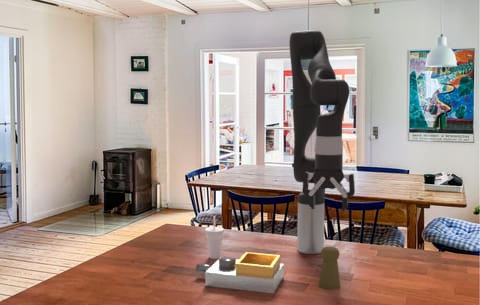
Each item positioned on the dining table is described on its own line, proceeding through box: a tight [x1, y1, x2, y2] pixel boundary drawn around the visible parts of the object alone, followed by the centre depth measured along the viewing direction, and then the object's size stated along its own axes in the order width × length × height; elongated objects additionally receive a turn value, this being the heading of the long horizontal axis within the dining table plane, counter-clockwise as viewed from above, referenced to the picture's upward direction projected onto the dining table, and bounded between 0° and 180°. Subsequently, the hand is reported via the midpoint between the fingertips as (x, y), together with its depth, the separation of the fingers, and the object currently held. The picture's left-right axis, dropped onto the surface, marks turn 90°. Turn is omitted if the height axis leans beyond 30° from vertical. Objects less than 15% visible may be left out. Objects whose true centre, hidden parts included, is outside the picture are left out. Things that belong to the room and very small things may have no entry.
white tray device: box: [195, 251, 284, 294], centre depth 142 cm, size 13×25×7 cm, turn 73°
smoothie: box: [204, 215, 225, 260], centre depth 163 cm, size 6×6×14 cm
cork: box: [318, 246, 341, 290], centre depth 138 cm, size 6×6×11 cm
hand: (328, 209), depth 136 cm, fingers open, 8 cm apart
